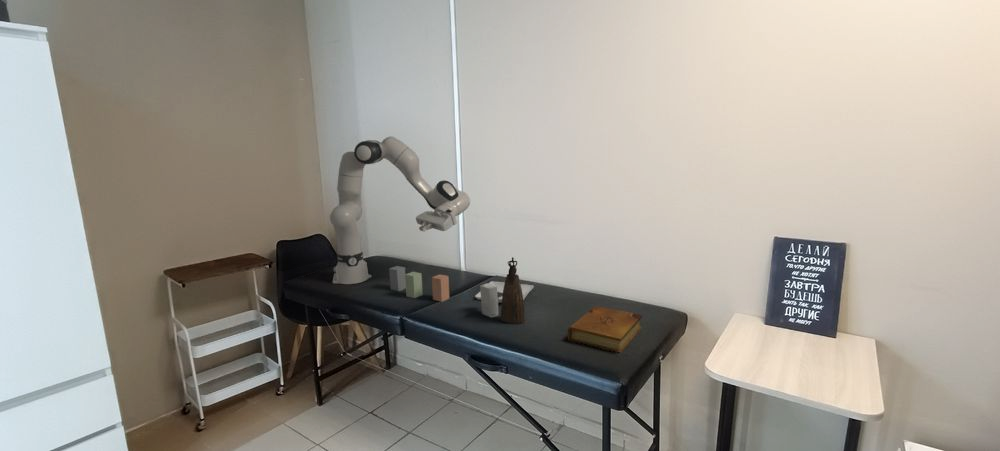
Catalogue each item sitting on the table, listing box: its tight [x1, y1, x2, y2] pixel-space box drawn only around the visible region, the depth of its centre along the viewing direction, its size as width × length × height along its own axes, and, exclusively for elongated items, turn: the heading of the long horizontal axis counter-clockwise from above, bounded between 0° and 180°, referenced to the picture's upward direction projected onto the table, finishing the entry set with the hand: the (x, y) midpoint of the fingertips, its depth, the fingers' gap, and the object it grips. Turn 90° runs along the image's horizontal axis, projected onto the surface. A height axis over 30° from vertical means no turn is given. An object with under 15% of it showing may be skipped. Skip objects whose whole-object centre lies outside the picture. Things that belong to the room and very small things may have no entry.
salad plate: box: [474, 280, 535, 304], centre depth 205 cm, size 21×21×3 cm
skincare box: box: [479, 282, 499, 318], centre depth 184 cm, size 6×4×12 cm
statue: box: [500, 257, 526, 325], centre depth 176 cm, size 9×8×25 cm
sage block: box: [405, 271, 423, 299], centre depth 205 cm, size 5×5×10 cm
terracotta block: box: [431, 274, 450, 303], centre depth 200 cm, size 5×5×10 cm
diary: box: [567, 305, 643, 354], centre depth 165 cm, size 23×19×6 cm
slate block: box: [388, 265, 406, 292], centre depth 214 cm, size 5×5×10 cm
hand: (421, 229), depth 211 cm, fingers closed
